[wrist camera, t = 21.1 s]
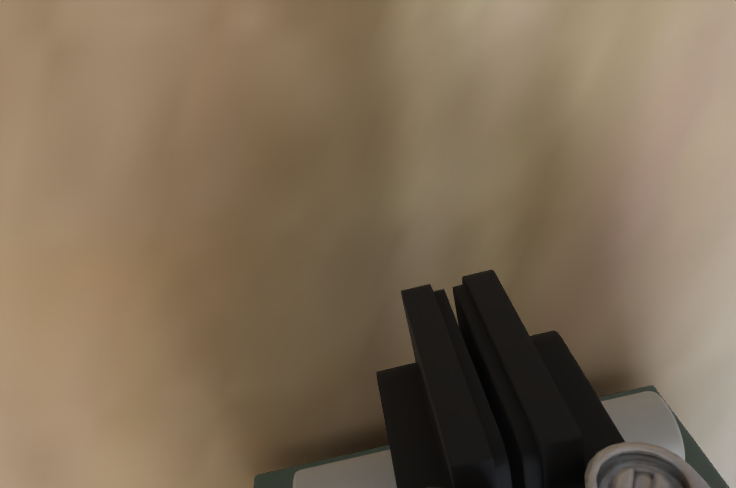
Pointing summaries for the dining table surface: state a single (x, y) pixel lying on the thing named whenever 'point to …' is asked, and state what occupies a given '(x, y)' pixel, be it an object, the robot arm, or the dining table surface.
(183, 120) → the dining table surface
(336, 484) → the drawer
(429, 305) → the robot arm
